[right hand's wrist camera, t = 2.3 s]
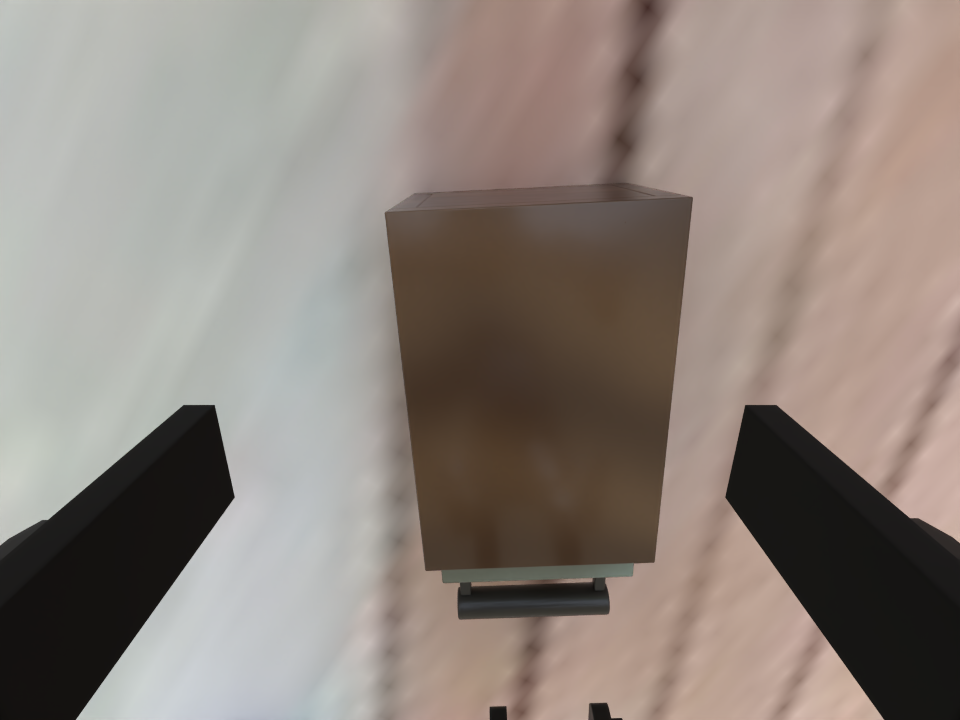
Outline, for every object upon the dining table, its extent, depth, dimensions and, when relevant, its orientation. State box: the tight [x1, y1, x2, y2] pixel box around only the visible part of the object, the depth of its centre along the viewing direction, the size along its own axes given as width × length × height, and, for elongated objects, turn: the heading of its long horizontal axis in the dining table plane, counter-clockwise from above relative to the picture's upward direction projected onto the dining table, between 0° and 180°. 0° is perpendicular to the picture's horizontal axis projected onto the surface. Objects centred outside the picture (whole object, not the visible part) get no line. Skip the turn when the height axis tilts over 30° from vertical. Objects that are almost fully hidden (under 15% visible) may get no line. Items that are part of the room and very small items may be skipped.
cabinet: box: [385, 183, 693, 571], centre depth 24 cm, size 16×10×8 cm, turn 3°
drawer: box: [442, 563, 634, 620], centre depth 26 cm, size 20×9×6 cm, turn 3°
